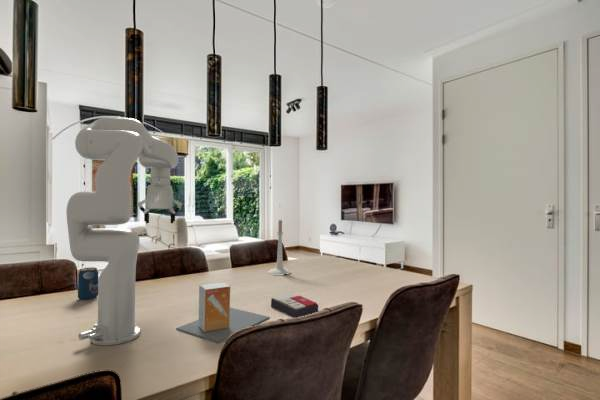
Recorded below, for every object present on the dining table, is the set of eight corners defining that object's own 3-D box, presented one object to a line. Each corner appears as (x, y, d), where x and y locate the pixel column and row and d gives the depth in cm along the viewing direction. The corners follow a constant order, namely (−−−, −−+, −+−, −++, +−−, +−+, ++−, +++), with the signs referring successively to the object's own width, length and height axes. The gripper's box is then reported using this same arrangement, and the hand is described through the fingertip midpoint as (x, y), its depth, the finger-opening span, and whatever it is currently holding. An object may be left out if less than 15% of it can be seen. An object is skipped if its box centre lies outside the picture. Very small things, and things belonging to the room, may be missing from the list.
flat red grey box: (295, 308, 115) (270, 296, 127) (295, 320, 116) (270, 307, 127) (319, 302, 123) (293, 291, 134) (318, 314, 123) (293, 302, 134)
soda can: (94, 300, 132) (94, 270, 132) (74, 301, 130) (75, 270, 130) (100, 295, 138) (101, 266, 138) (82, 296, 137) (82, 267, 137)
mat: (218, 343, 94) (218, 341, 94) (176, 329, 104) (176, 328, 104) (269, 318, 115) (269, 316, 115) (230, 308, 124) (230, 307, 124)
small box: (204, 333, 100) (205, 289, 100) (198, 326, 105) (198, 284, 105) (230, 327, 105) (230, 286, 105) (222, 321, 110) (223, 281, 110)
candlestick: (282, 269, 196) (282, 218, 196) (295, 273, 186) (296, 219, 186) (263, 272, 187) (264, 219, 188) (276, 276, 178) (277, 220, 178)
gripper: (135, 181, 134) (134, 223, 134) (181, 182, 138) (180, 223, 137) (140, 182, 141) (139, 222, 141) (183, 183, 145) (182, 222, 145)
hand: (159, 223), depth 139 cm, fingers open, 9 cm apart
